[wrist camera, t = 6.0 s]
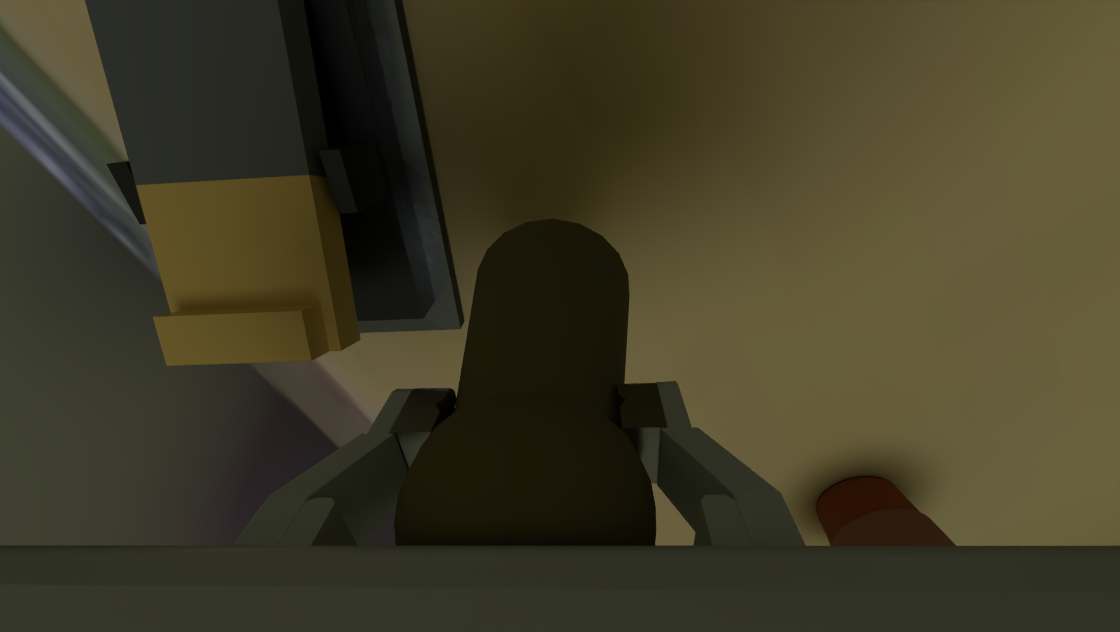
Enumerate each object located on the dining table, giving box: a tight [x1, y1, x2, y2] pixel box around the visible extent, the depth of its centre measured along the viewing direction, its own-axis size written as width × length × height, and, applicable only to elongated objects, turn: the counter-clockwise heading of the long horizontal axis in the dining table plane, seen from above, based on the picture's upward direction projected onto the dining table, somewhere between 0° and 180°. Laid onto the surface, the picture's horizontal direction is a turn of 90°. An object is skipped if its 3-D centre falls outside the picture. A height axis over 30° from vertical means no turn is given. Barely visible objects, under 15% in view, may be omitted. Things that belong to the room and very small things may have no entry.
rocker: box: [85, 0, 361, 366], centre depth 16 cm, size 14×7×3 cm, turn 4°
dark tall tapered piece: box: [394, 219, 656, 546], centre depth 12 cm, size 6×6×11 cm
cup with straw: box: [816, 477, 956, 546], centre depth 26 cm, size 9×9×18 cm
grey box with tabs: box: [107, 0, 464, 333], centre depth 19 cm, size 20×12×7 cm, turn 4°
